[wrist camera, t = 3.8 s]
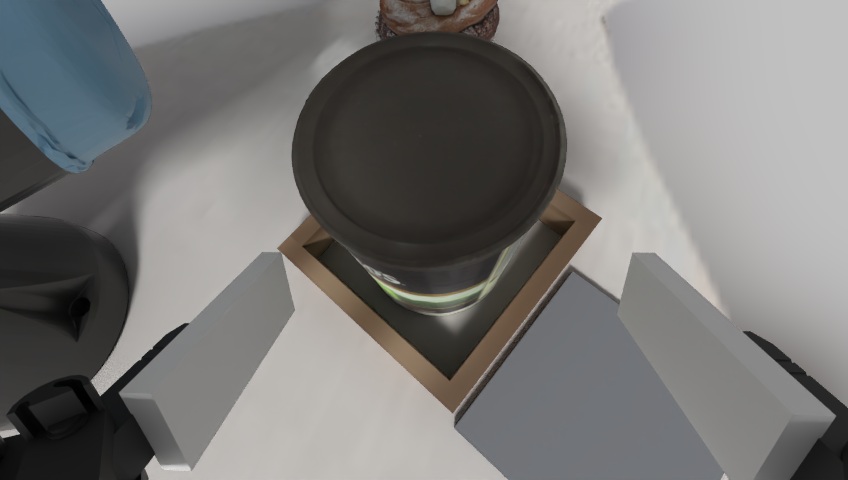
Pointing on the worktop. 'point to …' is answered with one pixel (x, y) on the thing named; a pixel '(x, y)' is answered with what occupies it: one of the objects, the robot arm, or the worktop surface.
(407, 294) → the coffee can
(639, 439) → the rubber pad
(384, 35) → the cupcake
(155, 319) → the worktop surface
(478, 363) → the walnut collar
